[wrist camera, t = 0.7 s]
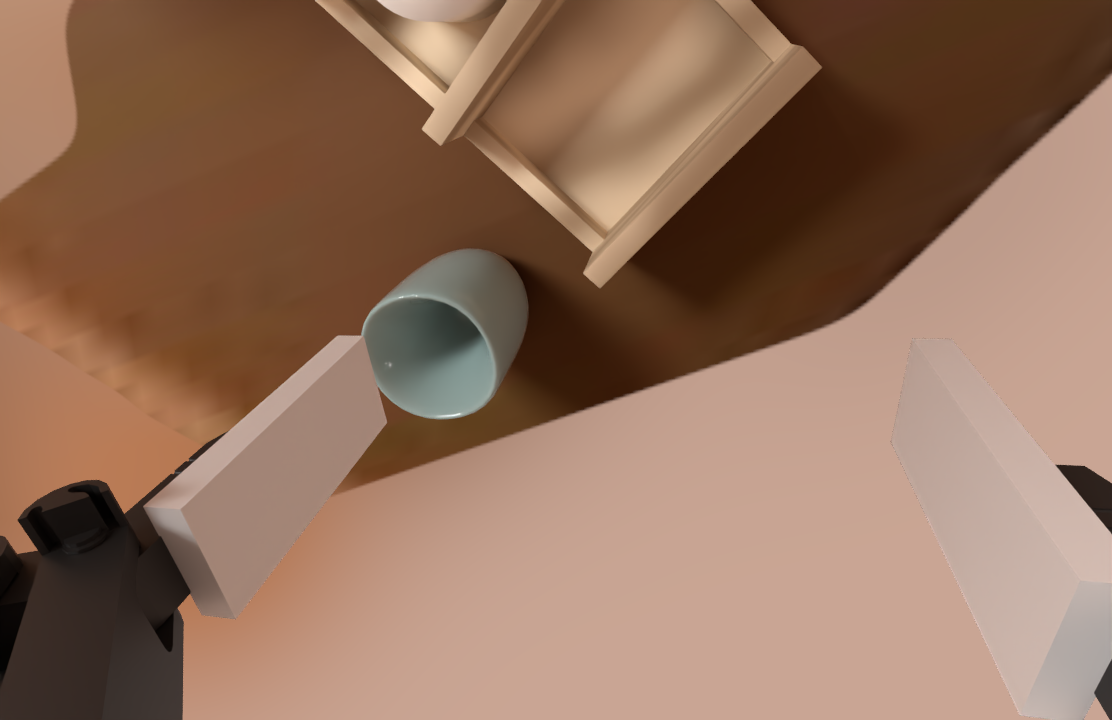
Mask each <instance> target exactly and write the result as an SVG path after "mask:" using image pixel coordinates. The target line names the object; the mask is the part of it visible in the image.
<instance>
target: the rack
mask: <svg viewBox="0 0 1112 720" xmlns="http://www.w3.org/2000/svg"><path fill="white" fill-rule="evenodd" d="M315 1H316V2H317V3H318V4H320V5H321V6H322V7H323V8H324V9H325V10H326V11H327V12H328V13H329V14H331V15H332V16H333V17H334V18H335V19H336V20H337V21H338V22H339V23H341V24H342V25H343V26H344V27H345V28H346V29H347V30H348V31H349V32H350V33H352V34H353V35H354V36H355V37H356V38H357V39H358V40H359V41H360V42H361V43H363V44H364V45H365V46H366V47H367V48H368V49H369V50H370V51H371V52H373V53H374V54H375V55H376V56H377V57H378V58H379V59H380V60H381V61H382V62H384V63H385V64H386V65H387V66H388V67H389V68H390V69H391V70H392V71H393V72H395V73H396V74H397V75H398V76H399V77H400V78H401V79H402V80H403V81H405V82H406V83H407V84H408V85H409V86H410V87H411V88H412V89H413V90H414V91H416V92H417V93H418V94H419V95H420V96H421V97H422V98H423V99H424V100H425V101H427V102H428V103H429V104H430V105H431V106H432V107H433V108H434V109H435V110H434V111H433V113H432V115H431V116H430V118H429V119H428V121H427V122H426V124H425V125H424V127H423V128H422V130H423V131H424V132H425V133H427V134H428V135H429V136H430V137H431V138H432V139H433V140H434V141H436V142H437V143H438V144H439V145H440V146H442V145H444V144H446V143H448V142H450V141H453V140H455V139H457V138H459V137H461V136H463V135H464V136H465V137H466V138H467V139H469V140H470V141H471V142H472V143H473V144H474V145H475V146H476V147H477V148H478V149H480V150H481V151H482V152H483V153H484V154H485V155H486V156H487V157H488V158H489V159H491V160H492V161H493V162H494V163H495V164H496V165H497V166H498V167H499V168H501V169H502V170H503V171H504V172H505V173H506V174H507V175H508V176H509V177H510V178H512V179H513V180H514V181H515V182H516V183H517V184H518V185H519V186H520V187H521V188H523V189H524V190H525V191H526V192H527V193H528V194H529V195H530V196H531V197H532V198H534V199H535V200H536V201H537V202H538V203H539V204H540V205H541V206H542V207H544V208H545V209H546V210H547V211H548V212H549V213H550V214H551V215H552V216H553V217H555V218H556V219H557V220H558V221H559V222H560V223H561V224H562V225H563V226H564V227H566V228H567V229H568V230H569V231H570V232H571V233H572V234H573V235H574V236H576V237H577V238H578V239H579V240H580V241H581V242H582V243H583V244H584V245H585V246H587V247H588V248H589V249H590V250H591V251H592V252H593V253H592V255H591V257H590V259H589V261H588V264H587V266H586V268H585V270H584V273H583V274H584V275H585V276H587V277H588V278H589V279H590V280H591V281H592V282H593V283H594V284H595V285H597V286H598V287H599V288H601V287H602V286H603V285H604V284H605V283H606V282H607V281H608V280H609V279H610V278H611V277H612V276H613V275H614V274H615V273H616V272H617V271H618V270H619V269H620V268H621V267H622V266H623V265H624V264H625V263H626V262H627V261H628V260H629V259H630V258H631V257H632V256H633V255H634V254H635V253H636V252H637V251H638V250H639V249H640V248H641V247H642V246H643V245H644V244H645V243H646V242H647V241H648V240H649V239H650V238H651V237H652V236H653V235H654V234H655V233H656V232H657V231H658V230H659V229H660V228H661V227H662V226H663V225H664V224H665V223H666V222H667V221H668V220H669V219H670V218H671V217H672V216H673V215H674V214H675V213H676V212H677V211H678V210H679V209H680V208H681V207H682V206H683V205H684V204H685V203H686V202H687V201H688V200H689V199H690V198H691V197H692V196H693V195H694V194H695V193H696V192H697V191H698V190H699V189H700V188H701V187H702V186H703V185H704V184H705V183H706V182H707V181H708V180H709V179H710V178H711V177H712V176H713V175H714V174H715V173H716V172H717V171H718V170H719V169H720V168H722V167H723V166H724V165H725V164H726V163H727V162H728V161H729V160H730V159H731V158H732V157H733V156H734V155H735V154H736V153H737V152H738V151H739V150H740V149H741V148H742V147H743V146H744V145H745V144H746V143H747V142H748V141H749V140H750V139H751V138H752V137H753V136H754V135H755V134H756V133H757V132H758V131H759V130H760V129H761V128H762V127H763V126H764V125H765V124H766V123H767V122H768V121H769V120H770V119H771V118H772V117H773V116H774V115H775V114H776V113H777V112H778V111H779V110H780V109H781V108H782V107H783V106H784V105H785V104H786V103H787V102H788V101H789V100H790V99H791V98H792V97H793V96H794V95H795V94H796V93H797V92H798V91H799V90H800V89H801V88H802V87H803V86H804V85H805V84H806V83H807V82H808V81H809V80H810V79H811V78H812V77H813V76H814V75H815V74H816V73H817V72H818V71H819V70H820V69H821V68H822V67H821V66H820V64H819V63H818V62H817V61H816V60H815V59H814V58H813V57H812V56H811V55H810V54H809V52H808V51H807V50H806V49H805V48H804V47H803V46H798V45H793V44H791V43H790V42H789V41H788V40H787V39H786V38H785V37H784V36H783V35H782V34H781V32H780V31H779V30H778V29H777V28H776V27H775V26H774V25H773V24H772V23H771V22H770V21H769V19H768V18H767V17H766V16H765V15H764V14H763V13H762V12H761V11H760V10H759V9H758V8H757V7H756V5H755V4H754V3H753V2H752V1H751V0H507V1H506V3H505V4H504V6H503V7H502V8H501V9H500V10H499V11H497V12H496V13H494V14H492V15H490V16H489V17H486V18H484V19H481V20H477V21H472V22H423V21H416V20H411V19H408V18H405V17H402V16H400V15H398V14H396V13H394V12H392V11H391V10H389V9H387V8H386V7H384V6H383V5H382V4H381V3H379V2H378V1H377V0H315Z"/></svg>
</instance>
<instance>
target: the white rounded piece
mask: <svg viewBox="0 0 1112 720" xmlns="http://www.w3.org/2000/svg"><path fill="white" fill-rule="evenodd" d="M377 1H378V2H379V3H381V4H382V5H383V6H384V7H386V8H387V9H389V10H391V11H392V12H394V13H396V14H398V15H400V16H402V17H405V18H408V19H411V20H416V21H423V22H472V21H477V20H481V19H484V18H486V17H489V16H490V15H492V14H494V13H496V12H497V11H499V10H500V9H501V8H502V7H503V6H504V4H505V3H506V1H507V0H377Z"/></svg>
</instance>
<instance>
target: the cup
mask: <svg viewBox="0 0 1112 720" xmlns="http://www.w3.org/2000/svg"><path fill="white" fill-rule="evenodd" d="M528 317H529V304H528V298H527V293H526V289H525V286H524V283H523V281H522V279H521V277H520V275H519V274H518V272H517V270H516V269H515V268H514V267H513V266H512V264H511V263H510V262H509V261H507V260H506V259H505V258H504V257H502V256H501V255H499V254H497V253H494V252H492V251H489V250H485V249H476V248H467V249H458V250H455V251H451V252H448V253H445V254H442V255H440V256H438V257H436V258H434V259H432V260H431V261H429V262H427V263H425V264H424V265H422V266H421V267H419V268H418V269H417V270H415V271H414V272H413V273H411V274H410V275H409V276H408V277H407V278H405V279H404V280H403V281H402V282H401V283H400V284H398V285H397V286H396V287H395V288H394V289H393V290H392V291H391V292H389V293H388V294H387V295H386V296H385V297H384V298H383V299H382V300H380V301H379V302H378V303H377V304H376V305H375V306H374V308H373V309H372V310H371V312H370V313H369V315H368V316H367V318H366V320H365V322H364V325H363V329H362V336H364V339H365V343H366V346H367V350H368V354H369V358H370V361H371V365H372V369H373V372H374V376H375V380H376V383H377V385H378V387H379V388H380V390H381V391H382V392H383V393H384V394H385V395H386V396H387V397H388V398H389V399H390V400H391V401H392V402H393V403H395V404H396V405H397V406H399V407H400V408H402V409H403V410H406V411H408V412H410V413H412V414H414V415H418V416H421V417H425V418H432V419H454V418H458V417H463V416H467V415H469V414H472V413H474V412H476V411H478V410H479V409H481V408H482V407H484V406H485V405H486V404H487V403H488V402H489V401H490V400H491V399H492V397H493V396H494V395H495V394H496V392H497V391H498V389H499V388H500V386H501V384H502V382H503V380H504V379H505V377H506V375H507V373H508V371H509V369H510V367H511V365H512V363H513V361H514V359H515V357H516V355H517V353H518V350H519V348H520V346H521V344H522V341H523V339H524V336H525V333H526V328H527V323H528Z"/></svg>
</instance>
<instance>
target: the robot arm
mask: <svg viewBox="0 0 1112 720" xmlns="http://www.w3.org/2000/svg"><path fill="white" fill-rule="evenodd" d="M386 423H387V421H386V417H385V413H384V409H383V406H382V402H381V398H380V395H379V391H378V387H377V383H376V380H375V376H374V372H373V369H372V365H371V361H370V358H369V354H368V350H367V346H366V343H365V339H364V336H337V337H336V338H335V339H333V340H332V341H331V342H330V343H329V344H328V345H327V346H325V347H324V348H323V349H322V350H321V351H320V352H319V353H317V354H316V355H315V356H314V357H313V358H312V359H311V360H309V361H308V362H307V363H306V364H305V365H304V366H303V367H301V368H300V369H299V370H298V371H297V372H296V373H295V374H293V375H292V376H291V377H290V378H289V379H288V380H287V381H285V382H284V383H283V384H282V385H281V386H280V387H279V388H278V389H276V390H275V391H274V392H273V393H272V394H271V395H270V396H268V397H267V398H266V399H265V400H264V401H263V402H262V403H260V404H259V405H258V406H257V407H256V408H255V409H254V410H252V411H251V412H250V413H249V414H248V415H247V416H246V417H244V418H243V419H242V420H241V421H240V422H239V423H238V424H236V425H235V426H234V427H233V428H232V429H231V430H229V431H227V432H226V433H224V434H222V435H220V436H219V437H217V438H215V439H213V440H211V441H210V442H208V443H206V444H205V445H204V446H203V447H202V448H200V449H199V450H198V451H197V452H196V453H195V454H193V455H192V456H191V457H190V458H189V461H188V462H187V461H186V462H184V463H183V464H182V465H181V466H180V467H179V468H177V469H176V470H175V473H174V474H170V475H169V476H168V477H167V478H166V479H165V480H163V481H162V482H161V483H160V484H159V485H158V486H156V487H155V488H154V489H153V490H152V491H151V492H149V493H148V494H147V495H146V496H145V497H144V498H142V499H141V500H140V501H139V502H138V503H137V504H136V505H134V506H133V507H132V508H131V509H130V510H129V511H127V512H126V513H125V514H124V513H123V511H122V509H121V508H120V506H119V504H118V502H117V501H116V499H115V497H114V495H113V493H112V492H111V490H110V488H109V486H108V485H107V483H105V482H102V481H100V480H86V481H81V482H78V483H73V484H69V485H67V486H65V487H62V488H59V489H57V490H54V491H52V492H50V493H49V494H47V495H45V496H43V497H42V498H40V499H38V500H37V501H35V502H34V503H33V504H32V505H30V506H29V507H28V508H27V509H26V510H24V512H23V513H22V514H21V516H20V517H19V519H18V522H19V523H20V524H21V526H22V527H23V529H24V530H25V532H26V533H27V535H28V536H29V538H30V539H31V541H32V542H33V543H34V545H35V546H36V548H37V549H38V551H34V552H27V553H21V554H17V553H16V552H15V550H14V549H13V548H12V546H11V545H10V543H9V542H8V540H7V539H6V538H5V537H3V536H0V720H182V713H183V626H184V625H183V624H184V622H183V619H182V616H181V614H180V612H179V610H178V606H179V605H180V604H181V603H182V602H183V601H184V600H185V599H186V597H187V596H188V595H189V594H191V596H192V598H193V600H194V602H195V603H196V605H197V607H198V609H199V611H200V612H201V614H202V615H205V616H213V617H222V618H230V619H236V618H237V617H238V615H239V614H240V613H241V612H242V611H243V609H244V608H245V607H246V605H247V604H248V603H249V601H250V600H251V599H252V598H253V596H254V595H255V594H256V592H257V591H258V590H259V588H260V587H261V586H262V585H263V583H264V582H265V581H266V579H267V578H268V576H269V575H270V574H271V573H272V571H273V570H274V569H275V567H276V566H277V565H278V564H279V562H280V561H281V560H282V558H283V557H284V556H285V555H286V553H287V552H288V551H289V549H290V548H291V547H292V545H293V544H294V543H295V542H296V540H297V539H298V538H299V536H300V535H301V534H302V532H303V531H304V530H305V528H306V527H307V526H308V525H309V523H310V522H311V521H312V519H313V518H314V517H315V516H316V514H317V513H318V512H319V510H320V509H321V508H322V506H323V505H324V504H325V503H326V501H327V500H328V499H329V497H330V496H331V495H332V493H333V492H334V491H335V490H336V488H337V487H338V486H339V484H340V483H341V482H342V480H343V479H344V478H345V476H346V475H347V474H348V473H349V471H350V470H351V469H352V467H353V466H354V465H355V463H356V462H357V461H358V460H359V458H360V457H361V456H362V454H363V453H364V452H365V450H366V449H367V448H368V447H369V445H370V444H371V443H372V441H373V440H374V439H375V437H376V436H377V435H378V434H379V432H380V431H381V430H382V428H383V427H384V426H385V424H386ZM891 443H892V446H893V448H894V449H895V452H896V454H897V456H898V458H899V460H900V463H901V465H902V467H903V469H904V471H905V473H906V475H907V477H908V479H909V481H910V484H911V486H912V488H913V490H914V492H915V494H916V496H917V499H918V501H919V503H920V505H921V507H922V509H923V511H924V513H925V516H926V518H927V520H928V522H929V524H930V526H931V528H932V530H933V532H934V535H935V537H936V539H937V541H938V543H939V545H940V547H941V549H942V552H943V554H944V556H945V558H946V560H947V562H948V564H949V566H950V568H951V571H952V573H953V575H954V577H955V579H956V581H957V583H958V586H959V588H960V590H961V592H962V594H963V596H964V598H965V600H966V603H967V605H968V607H969V609H970V611H971V613H972V615H973V617H974V620H975V622H976V624H977V626H978V628H979V630H980V632H981V634H982V636H983V639H984V641H985V643H986V645H987V647H988V649H989V651H990V653H991V656H992V658H993V660H994V662H995V664H996V666H997V668H998V670H999V672H1000V674H1001V676H1002V679H1003V681H1004V683H1005V685H1006V687H1007V690H1008V692H1009V694H1010V696H1011V698H1012V700H1013V702H1014V704H1015V706H1016V709H1017V711H1018V713H1019V715H1020V716H1027V717H1036V718H1043V719H1052V720H1084V718H1085V716H1086V714H1087V712H1088V710H1089V708H1090V706H1091V705H1092V703H1093V701H1094V699H1095V697H1097V699H1098V701H1099V702H1100V704H1101V706H1102V707H1103V709H1104V711H1105V712H1106V714H1107V716H1108V717H1109V719H1110V720H1112V483H1110V482H1109V481H1107V480H1105V479H1104V478H1102V477H1101V476H1099V475H1098V474H1096V473H1095V472H1093V471H1092V470H1090V469H1088V468H1087V467H1085V466H1071V465H1055V464H1054V463H1053V462H1052V461H1051V459H1050V458H1049V457H1048V456H1047V455H1046V453H1045V452H1044V451H1043V450H1042V449H1041V447H1040V446H1039V445H1038V444H1037V442H1036V441H1035V440H1034V439H1033V437H1032V436H1031V435H1030V434H1029V433H1028V431H1027V430H1026V429H1025V428H1024V426H1023V425H1022V424H1021V423H1020V422H1019V420H1018V419H1017V418H1016V417H1015V416H1014V414H1013V413H1012V412H1011V411H1010V409H1009V408H1008V407H1007V406H1006V405H1005V403H1004V402H1003V401H1002V400H1001V398H1000V397H999V396H998V395H997V393H996V392H995V391H994V390H993V389H992V387H991V386H990V385H989V384H988V382H987V381H986V380H985V379H984V378H983V376H982V375H981V374H980V373H979V372H978V370H977V369H976V368H975V367H974V365H973V364H972V363H971V362H970V361H969V359H968V358H967V357H966V356H965V355H964V353H963V352H962V351H961V350H960V348H959V347H958V346H957V345H956V343H955V342H954V341H953V340H952V339H912V343H911V347H910V352H909V357H908V362H907V366H906V371H905V377H904V381H903V386H902V391H901V395H900V401H899V405H898V410H897V415H896V420H895V424H894V429H893V434H892V439H891Z"/></svg>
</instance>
